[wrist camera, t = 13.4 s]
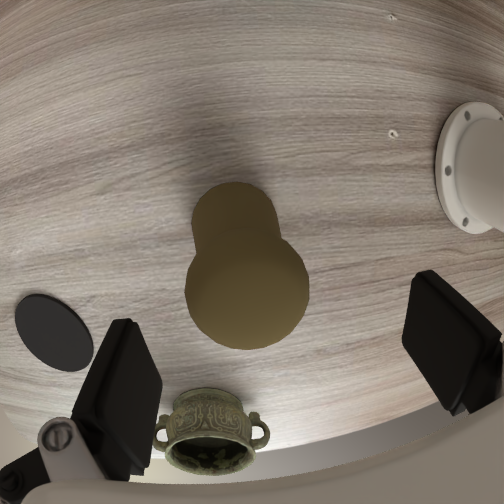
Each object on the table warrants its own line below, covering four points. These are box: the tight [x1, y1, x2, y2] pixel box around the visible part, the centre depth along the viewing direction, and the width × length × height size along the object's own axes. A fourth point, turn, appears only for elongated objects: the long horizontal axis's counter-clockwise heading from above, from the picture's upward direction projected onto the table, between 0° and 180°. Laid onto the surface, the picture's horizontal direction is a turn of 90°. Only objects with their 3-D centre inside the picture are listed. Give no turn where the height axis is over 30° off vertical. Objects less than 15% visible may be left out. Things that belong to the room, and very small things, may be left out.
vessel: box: [153, 388, 270, 476], centre depth 26 cm, size 12×9×6 cm
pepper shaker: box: [184, 182, 309, 350], centre depth 16 cm, size 6×6×11 cm
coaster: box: [15, 294, 94, 372], centre depth 23 cm, size 9×9×1 cm
